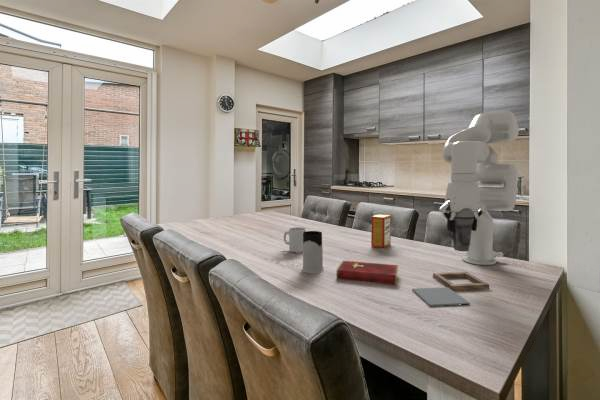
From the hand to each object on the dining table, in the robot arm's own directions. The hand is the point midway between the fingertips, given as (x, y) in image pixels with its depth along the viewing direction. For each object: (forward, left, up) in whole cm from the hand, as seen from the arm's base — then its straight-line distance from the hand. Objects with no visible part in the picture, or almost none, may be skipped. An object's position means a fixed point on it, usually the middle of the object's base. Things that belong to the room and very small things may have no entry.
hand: (461, 230), depth 106 cm
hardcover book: (+30, -9, -19) cm, 37 cm away
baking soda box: (+10, -54, -19) cm, 58 cm away
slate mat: (+13, +11, -18) cm, 25 cm away
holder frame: (0, 0, -18) cm, 18 cm away
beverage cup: (0, 0, -7) cm, 7 cm away
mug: (+55, -50, -19) cm, 77 cm away
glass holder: (+48, -22, -19) cm, 56 cm away
